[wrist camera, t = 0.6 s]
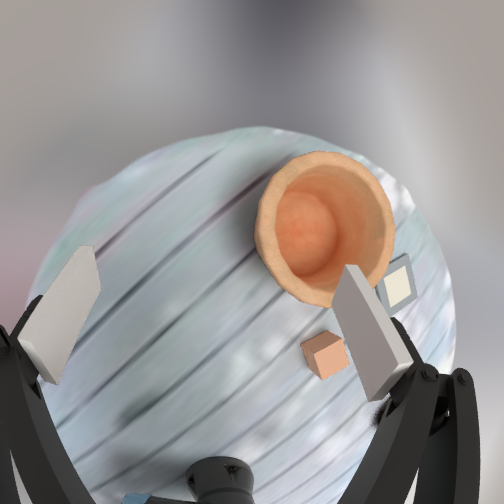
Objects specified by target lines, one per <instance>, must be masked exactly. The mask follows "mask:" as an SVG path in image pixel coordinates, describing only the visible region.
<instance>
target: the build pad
mask: <svg viewBox="0 0 504 504" xmlns="http://www.w3.org/2000/svg"><path fill="white" fill-rule="evenodd" d="M375 289H376V293H377V297H378V299H379V301H380V302H381V304H382V306H383V307H384V309H385V311H386V312H387V314H388V316H389V317H391V316H392V315H394V314H395V313H396V312H398V311H399V310H401V309H402V308H404V307H405V306H407V305H408V304H409V303H411V302H412V301H414V300H415V299H416V298H418V296H417V291H416V286H415V281H414V276H413V272H412V268H411V263H410V259H409V255H408V254H404V255H402V256H400V257H399V258H397V259H395V260H394V261H392V262H390V263H389V265H388V267H387V270H386V273H385V274H384V276H383V277H382V278H381V280H380V281H379V282H378V283H377V285H376V286H375Z"/></svg>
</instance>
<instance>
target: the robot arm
mask: <svg viewBox="0 0 504 504" xmlns="http://www.w3.org/2000/svg"><path fill="white" fill-rule="evenodd" d="M101 289H102V288H101V283H100V279H99V274H98V270H97V265H96V260H95V254H94V249H93V246H83V245H81V246H80V247H79V248H78V250H77V251H76V252H75V253H74V255H73V256H72V257H71V259H70V260H69V261H68V263H67V264H66V265H65V266H64V268H63V269H62V270H61V272H60V273H59V275H58V276H57V277H56V279H55V280H54V281H53V283H52V284H51V286H50V287H49V289H48V290H47V291H46V293H45V294H44V296H43V295H39V296H37V297H36V298H35V299H34V300H32V301H31V303H30V304H29V306H28V307H27V309H26V311H25V312H24V313H23V315H22V317H21V318H20V320H19V321H18V323H17V325H16V326H15V328H14V329H13V331H12V333H11V334H10V336H9V335H8V334H7V332H6V330H5V328H4V327H3V326H2V325H0V504H21V502H20V499H19V495H18V491H17V486H16V482H15V478H14V473H13V467H12V461H11V454H10V450H11V453H12V456H13V459H14V462H15V464H16V467H17V469H18V472H19V475H20V477H21V479H22V482H23V484H24V486H25V489H26V491H27V493H28V495H29V497H30V499H31V501H32V503H33V504H96V503H95V502H94V500H93V499H92V497H91V496H90V494H89V493H88V491H87V489H86V488H85V486H84V484H83V483H82V481H81V479H80V477H79V476H78V474H77V472H76V470H75V468H74V467H73V465H72V463H71V461H70V459H69V457H68V455H67V453H66V451H65V449H64V447H63V444H62V442H61V440H60V438H59V436H58V433H57V431H56V429H55V426H54V424H53V421H52V419H51V416H50V414H49V411H48V408H47V406H46V403H45V400H44V397H43V394H42V391H41V388H40V385H39V382H38V381H37V377H38V374H40V375H41V377H42V378H43V380H44V381H46V382H49V383H52V384H55V385H58V384H59V381H60V379H61V376H62V373H63V371H64V368H65V366H66V364H67V361H68V359H69V356H70V354H71V352H72V349H73V347H74V345H75V342H76V340H77V338H78V336H79V334H80V331H81V329H82V327H83V325H84V323H85V321H86V319H87V317H88V315H89V313H90V311H91V309H92V307H93V305H94V303H95V301H96V299H97V297H98V295H99V293H100V291H101ZM331 306H332V308H333V310H334V313H335V315H336V318H337V320H338V323H339V325H340V328H341V330H342V333H343V335H344V338H345V340H346V343H347V345H348V348H349V350H350V353H351V356H352V358H353V361H354V363H355V366H356V369H357V371H358V374H359V377H360V380H361V382H362V385H363V388H364V391H365V393H366V396H367V399H368V402H371V401H377V400H382V399H383V398H384V397H385V396H386V395H387V394H388V393H390V395H391V399H390V400H389V401H388V402H387V403H386V404H385V405H384V406H383V408H382V409H381V410H380V411H383V410H384V409H385V408H386V409H385V412H384V414H383V416H382V419H381V421H380V424H379V426H378V428H377V430H376V433H375V435H374V437H373V439H372V441H371V443H370V445H369V448H368V450H367V452H366V454H365V456H364V458H363V460H362V461H361V463H360V465H359V467H358V469H357V471H356V473H355V475H354V476H353V478H352V480H351V482H350V483H349V485H348V487H347V488H346V490H345V492H344V493H343V495H342V497H341V498H340V500H339V501H338V503H337V504H404V502H405V500H406V498H407V495H408V493H409V491H410V488H411V486H412V483H413V480H414V478H415V475H416V473H417V470H418V467H419V470H418V478H417V484H416V491H415V496H414V502H413V504H478V499H479V486H480V435H479V422H478V411H477V403H476V396H475V389H474V382H473V379H472V377H471V375H470V373H469V372H468V371H467V370H465V369H463V368H457V369H455V370H454V371H453V373H452V374H451V375H447V374H439V372H438V370H437V369H436V368H435V367H433V366H432V365H430V364H427V363H424V362H423V361H422V359H421V357H420V355H419V353H418V352H417V350H416V348H415V346H414V344H413V343H412V341H410V337H409V336H408V334H407V332H406V330H405V329H404V327H403V325H402V324H401V323H400V322H399V321H398V320H397V319H396V318H395V317H390V318H389V316H388V314H387V312H386V311H385V309H384V307H383V306H382V304H381V302H380V301H379V299H378V297H377V296H376V294H375V292H374V291H373V289H372V287H371V286H370V284H369V282H368V281H367V279H366V278H365V276H364V275H363V273H362V271H361V270H360V268H359V267H358V265H348V264H345V266H344V269H343V272H342V275H341V278H340V280H339V283H338V286H337V289H336V291H335V294H334V297H333V299H332V302H331ZM448 411H449V416H448ZM186 484H187V487H188V489H189V491H190V492H191V494H192V496H193V497H194V499H195V501H196V502H191V501H182V500H175V499H168V498H161V497H156V496H153V495H144V494H138V493H129V494H127V495H126V496H125V497H124V499H123V501H122V503H121V504H255V503H254V500H253V497H252V491H253V484H254V477H253V474H252V471H251V469H250V467H249V466H248V465H247V464H246V463H244V462H243V461H241V460H238V459H235V458H230V457H212V458H207V459H204V460H201V461H199V462H197V463H195V464H194V465H192V466H191V467H190V468H189V469H188V471H187V473H186Z"/></svg>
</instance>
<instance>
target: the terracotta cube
mask: <svg viewBox="0 0 504 504" xmlns="http://www.w3.org/2000/svg"><path fill="white" fill-rule="evenodd" d="M301 347H302V350H303V352H304V355H305V358H306V361H307V364H308V366H309V369H310V370H311V371H312V372H314V373H315V374H316V375H317V376H318V377H319V378H320V379H321V380H324V379H326V378H327V377H329V376H331V375H333V374H334V373H336V372H338V371H340V370H341V369H343V368H345V367H346V366H348V365H349V361H348V357H347V354H346V350H345V346H344V343H343V339H342V338H340V337H339V336H337V335H335V334H333V333H331V332H329V331H325V332H323V333H321V334H319V335H317V336H315V337H314V338H312V339H310V340H308V341H306V342H304V343H302V344H301Z"/></svg>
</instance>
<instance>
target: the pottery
mask: <svg viewBox="0 0 504 504" xmlns="http://www.w3.org/2000/svg"><path fill="white" fill-rule="evenodd" d="M394 236H395V224H394V219H393V214H392V209H391V205H390V202H389V200H388V198H387V196H386V194H385V192H384V190H383V188H382V186H381V185H380V183H379V181H378V180H377V179H376V178H375V177H374V176H373V175H372V174H371V173H370V172H369V171H368V170H367V169H366V168H365V167H364V166H363V165H362V164H361V163H359V162H357V161H355V160H353V159H351V158H349V157H347V156H345V155H343V154H341V153H334V152H324V151H314V152H311V153H307V154H304V155H301V156H298V157H295V158H293V159H291V160H290V161H289V162H288V163H287V164H286V165H285V166H283V167H282V168H281V169H280V170H279V171H278V172H276V173H275V174H274V175H273V176H272V177H271V179H270V180H269V182H268V184H267V186H266V188H265V190H264V192H263V194H262V196H261V198H260V200H259V204H258V213H257V216H256V218H255V224H254V233H253V237H254V241H255V246H256V250H257V253H258V254H259V256H260V258H261V259H262V261H263V262H264V264H265V265H266V267H267V269H268V270H269V272H270V273H271V275H272V276H273V278H274V280H275V281H276V283H277V284H278V285H279V286H280V287H281V288H283V289H284V290H285V291H287V292H288V293H289V294H291V295H292V296H294V297H295V298H296V299H298V300H299V301H301V302H303V303H308V304H312V305H316V306H320V307H324V308H332V306H331V302H332V299H333V297H334V294H335V291H336V289H337V286H338V283H339V280H340V278H341V275H342V272H343V269H344V266H345V264H348V265H358V267H359V268H360V270H361V271H362V273H363V275H364V276H365V278H366V279H367V281H368V282H369V284H370V286H371V287H372V289H373V288H374V287H375V286H376V285H377V283H378V282H379V281H380V280H381V278H382V277H383V276H384V274H385V273H386V270H387V267H388V265H389V262H390V259H391V256H392V254H393V251H394Z"/></svg>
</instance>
